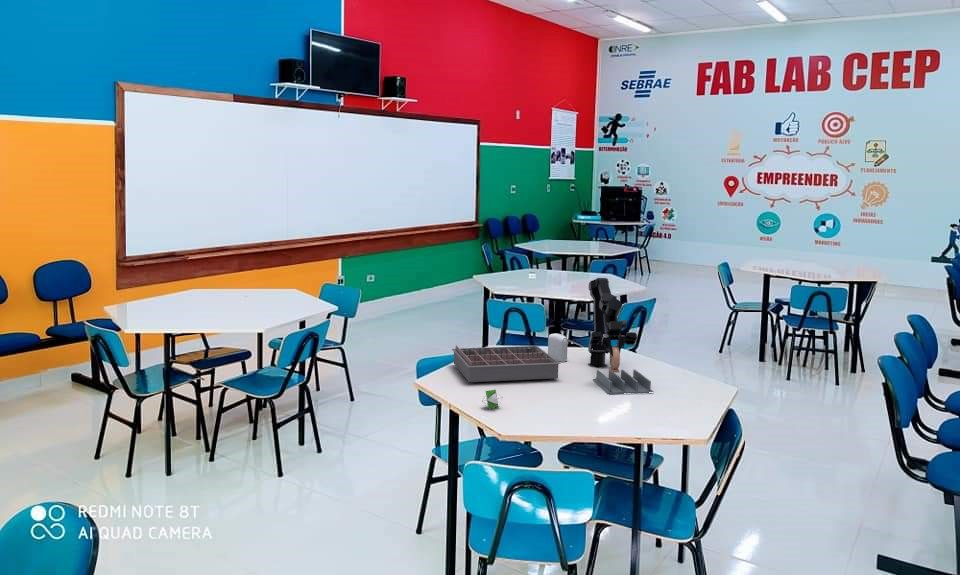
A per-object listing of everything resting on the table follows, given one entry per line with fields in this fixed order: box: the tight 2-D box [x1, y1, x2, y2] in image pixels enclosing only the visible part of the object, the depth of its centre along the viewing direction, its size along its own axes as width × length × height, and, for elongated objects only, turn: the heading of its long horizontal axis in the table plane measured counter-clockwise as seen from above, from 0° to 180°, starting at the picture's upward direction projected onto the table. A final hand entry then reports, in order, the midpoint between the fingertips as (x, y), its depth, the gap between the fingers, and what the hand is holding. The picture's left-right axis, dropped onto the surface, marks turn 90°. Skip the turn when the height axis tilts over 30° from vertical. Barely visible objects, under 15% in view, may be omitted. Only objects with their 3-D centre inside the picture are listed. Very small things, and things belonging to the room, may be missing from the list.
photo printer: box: [547, 333, 569, 363], centre depth 353 cm, size 10×4×12 cm, turn 39°
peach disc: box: [608, 346, 621, 374], centre depth 309 cm, size 9×3×10 cm, turn 2°
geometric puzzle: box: [482, 389, 504, 409], centre depth 280 cm, size 7×7×8 cm
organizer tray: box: [451, 344, 562, 383], centre depth 328 cm, size 32×40×10 cm
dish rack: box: [592, 369, 654, 395], centre depth 311 cm, size 20×19×5 cm
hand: (615, 355), depth 308 cm, fingers closed on peach disc, 2 cm apart
